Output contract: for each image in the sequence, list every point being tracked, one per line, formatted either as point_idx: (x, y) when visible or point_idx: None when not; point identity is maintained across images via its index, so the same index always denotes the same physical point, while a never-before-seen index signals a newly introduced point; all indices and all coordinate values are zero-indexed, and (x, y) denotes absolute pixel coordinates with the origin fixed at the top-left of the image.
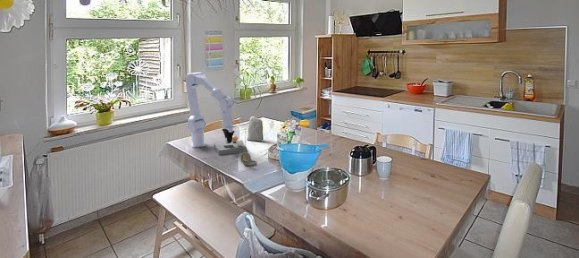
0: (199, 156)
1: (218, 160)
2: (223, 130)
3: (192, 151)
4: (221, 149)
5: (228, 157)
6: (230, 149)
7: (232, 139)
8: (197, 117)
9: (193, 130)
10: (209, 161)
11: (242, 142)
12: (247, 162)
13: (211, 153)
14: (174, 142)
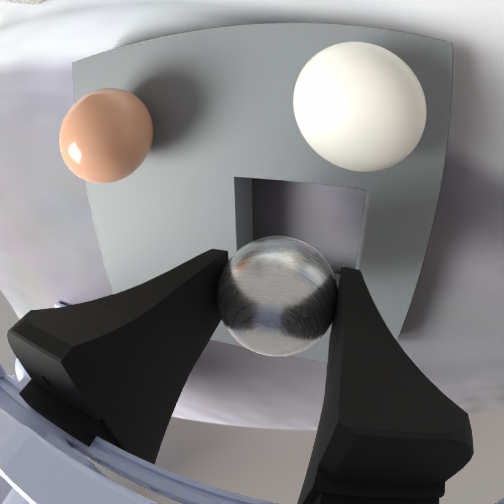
0: None
1: (492, 369)
2: (154, 452)
3: (212, 407)
4: None
5: (498, 299)
6: (419, 266)
7: (132, 169)
8: (9, 484)
9: (90, 459)
10: (462, 406)
11: (414, 74)
12: None
13: (310, 364)
14: None
